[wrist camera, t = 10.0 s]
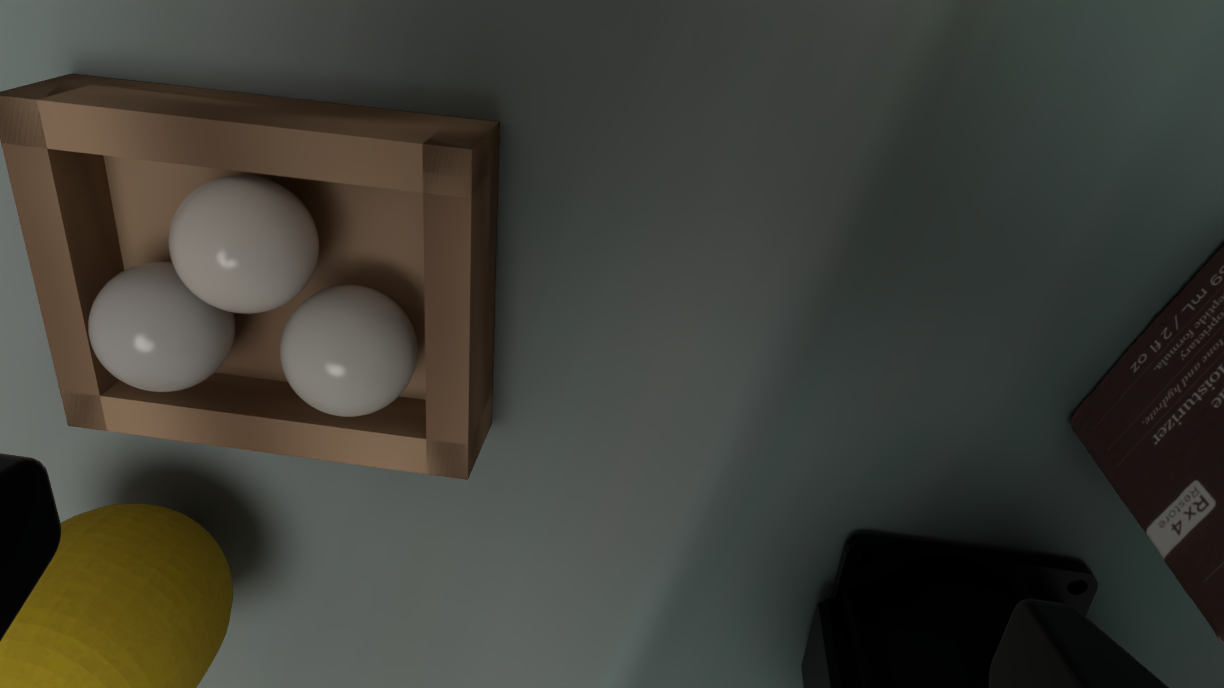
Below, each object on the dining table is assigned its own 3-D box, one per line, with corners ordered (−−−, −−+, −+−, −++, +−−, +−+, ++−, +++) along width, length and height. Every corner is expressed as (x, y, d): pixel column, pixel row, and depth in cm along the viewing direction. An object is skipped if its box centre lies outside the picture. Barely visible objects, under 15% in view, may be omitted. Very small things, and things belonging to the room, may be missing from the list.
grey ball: (336, 166, 19) (275, 207, 17) (343, 289, 21) (289, 345, 18) (206, 151, 19) (126, 189, 17) (222, 274, 21) (150, 327, 18)
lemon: (86, 434, 25) (-171, 648, 17) (275, 466, 24) (95, 696, 17) (113, 580, 27) (-102, 820, 20) (284, 611, 27) (130, 864, 20)
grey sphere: (433, 273, 20) (391, 328, 18) (434, 384, 22) (395, 450, 19) (308, 258, 20) (248, 310, 18) (317, 369, 22) (262, 432, 19)
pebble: (251, 250, 21) (182, 302, 18) (263, 361, 22) (201, 424, 19) (130, 235, 21) (43, 284, 18) (149, 347, 22) (71, 407, 19)
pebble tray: (500, 122, 19) (472, 149, 17) (491, 424, 23) (467, 479, 21) (71, 73, 20) (-10, 94, 18) (129, 376, 23) (68, 425, 21)
